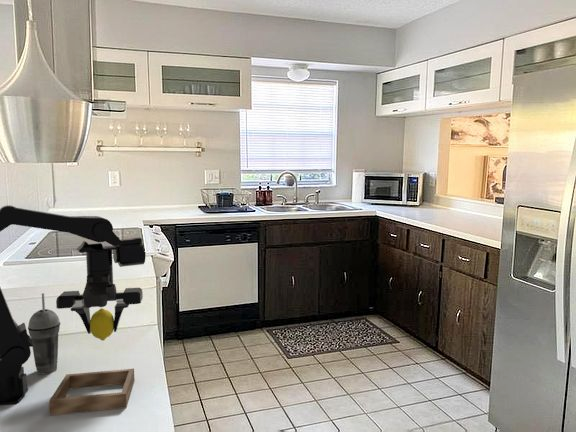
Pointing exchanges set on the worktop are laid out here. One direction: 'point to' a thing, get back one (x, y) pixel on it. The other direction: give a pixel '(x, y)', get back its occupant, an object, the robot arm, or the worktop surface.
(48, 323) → the beverage cup
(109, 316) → the lemon
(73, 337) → the worktop surface
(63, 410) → the box
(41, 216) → the robot arm
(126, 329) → the worktop surface
